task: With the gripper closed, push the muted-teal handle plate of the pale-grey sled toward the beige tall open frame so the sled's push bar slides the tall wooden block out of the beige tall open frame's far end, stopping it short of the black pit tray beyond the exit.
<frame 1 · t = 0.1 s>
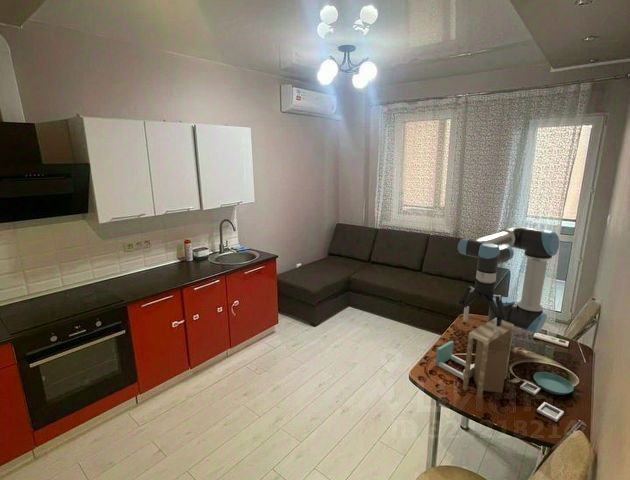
hand: (479, 326, 149), 28 cm above the table, fingers open, 13 cm apart
pit side: (530, 389, 151), on the table
beige tall open frame: (484, 383, 155), on the table
wooden block: (487, 385, 154), on the table
sled: (457, 359, 165), point 5 cm above the table, slide at 0.0 cm
saucer: (552, 387, 153), on the table
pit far: (549, 412, 137), on the table
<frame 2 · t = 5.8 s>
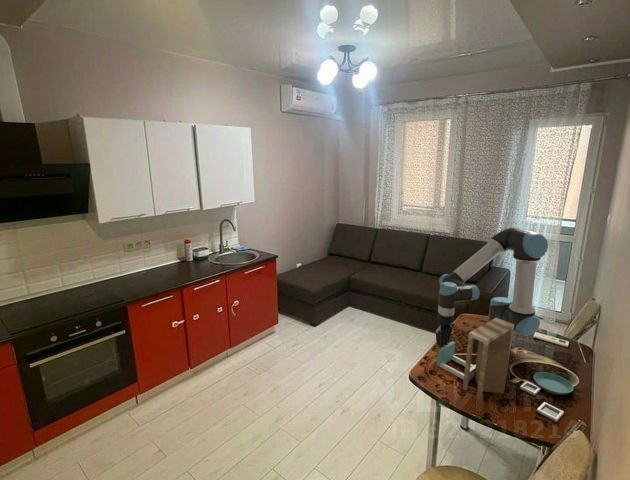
hand: (441, 356, 172), 2 cm above the table, fingers closed
wooden block: (488, 385, 154), on the table, touching sled
sled: (459, 360, 164), point 5 cm above the table, slide at 0.8 cm, touching gripper, wooden block
everything else where it was.
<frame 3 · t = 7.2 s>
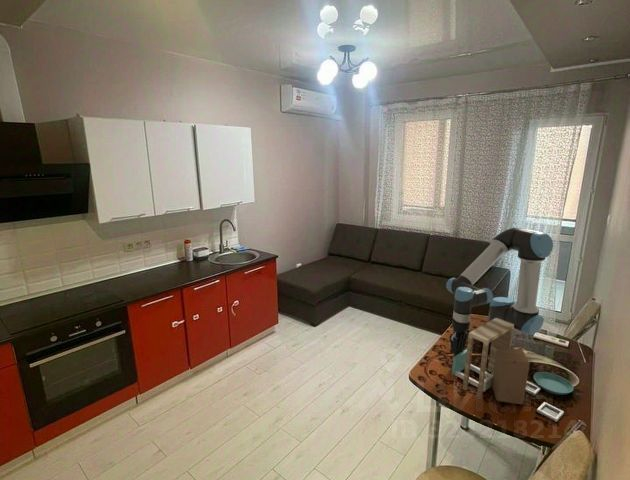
hand: (456, 364, 166), 2 cm above the table, fingers closed
wooden block: (506, 395, 147), on the table, touching sled
sled: (475, 368, 158), point 5 cm above the table, slide at 8.9 cm, touching gripper, wooden block
everything else where it was.
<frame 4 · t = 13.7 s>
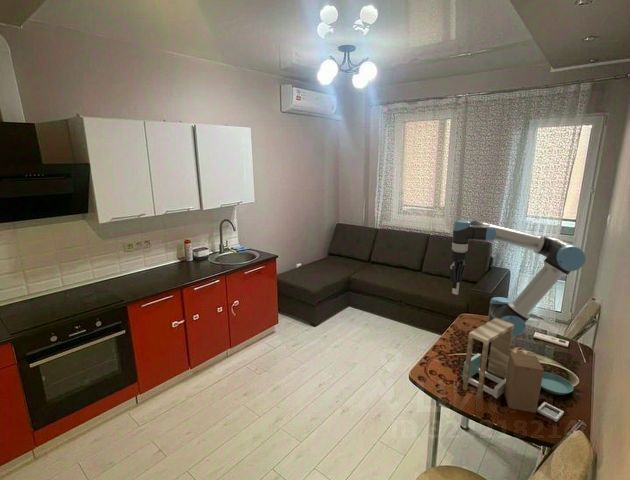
hand: (455, 293, 181), 29 cm above the table, fingers closed
wooden block: (519, 403, 143), on the table
sled: (486, 374, 153), point 5 cm above the table, slide at 14.2 cm
everything else where it was.
at the end: wooden block inside the target area (0.7 cm from its centre), on the table; wooden block tilted 0°; wooden block touching table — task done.
